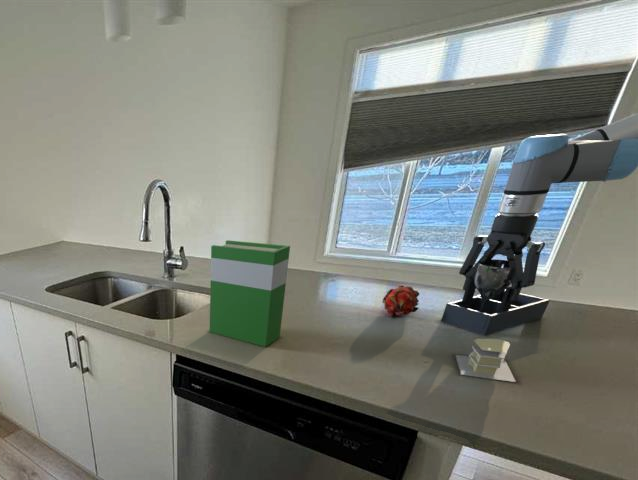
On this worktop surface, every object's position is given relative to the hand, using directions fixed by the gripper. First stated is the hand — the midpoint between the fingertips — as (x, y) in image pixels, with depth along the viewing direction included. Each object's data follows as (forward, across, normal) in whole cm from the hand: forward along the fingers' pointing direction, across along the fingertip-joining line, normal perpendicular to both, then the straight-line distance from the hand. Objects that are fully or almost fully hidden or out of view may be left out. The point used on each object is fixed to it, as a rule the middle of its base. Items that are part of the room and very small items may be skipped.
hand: (483, 307), depth 104 cm
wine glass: (+4, 0, 0) cm, 4 cm away
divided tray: (+5, 0, +5) cm, 7 cm away
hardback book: (+4, -25, -55) cm, 61 cm away
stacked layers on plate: (+4, +16, -22) cm, 28 cm away
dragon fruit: (+4, -15, -10) cm, 19 cm away
